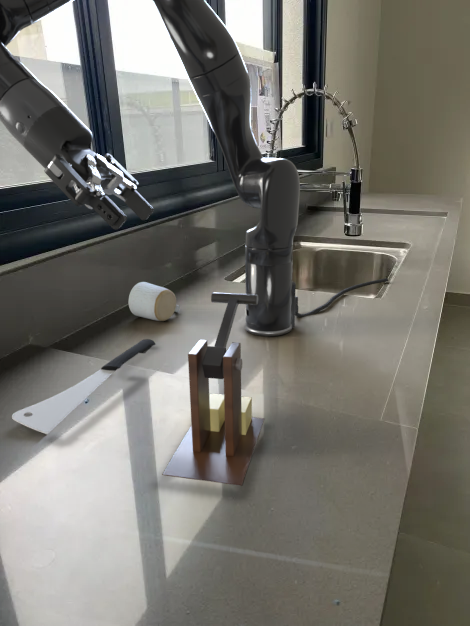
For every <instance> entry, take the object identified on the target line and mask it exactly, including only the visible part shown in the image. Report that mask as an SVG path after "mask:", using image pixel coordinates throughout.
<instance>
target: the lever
mask: <svg viewBox="0 0 470 626" xmlns="http://www.w3.org/2000/svg"><path fill="white" fill-rule="evenodd" d="M210 301H211V303H213V304H214V303H215V304H226V307H225V311H224V314H223V317H222V321H221V324H220V327H219V330H218V333H217V337H216V340H215V343H214V346H212V345H211V346H210V345H208V347H207V350H206V353H205V356H204V359H203V362H202V367H203V371H204V376H205V378H209V379H214V380H215V379H217V380H224V370H223V356H224V355H225V353H226V352H227V344H228V341H229V338H230V334H231V331H232V327H233V325H234V320H235V317H236V313H237V310H238V307H239V305H246V304H249V305H257V304H258V295H254V294H246V293H234V292H233V293H230V292H215V291H214V292H213V291H212V293H211V294H210Z"/></svg>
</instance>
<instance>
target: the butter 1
mask: <svg viewBox="0 0 470 626" xmlns="http://www.w3.org/2000/svg"><path fill="white" fill-rule="evenodd" d="M209 400H210V427H211V431H215V432H219V431H220V429H221V427H222V425H223V423H224V421H225V409H224V394H220V393H211V392H209Z"/></svg>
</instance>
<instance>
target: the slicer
mask: <svg viewBox="0 0 470 626" xmlns="http://www.w3.org/2000/svg"><path fill="white" fill-rule="evenodd" d="M241 345H242V344H241V342H237V341H232V342H231V344H230V346H229V347H228V348H227V349H226V351H227V352H226V353H225V355H224V356H223V370H224V378H223V395H224V409H225V421H224V423H223V425H222V427H221V429H220V431H219V432H215V431H211V427H210V400H209V393H210V378H205V376H204V371H203V367H202V362H203V359H204V356H205V353H206V350H207V347H208V346H209V344H208V340H207V339H199V340H198V341H197V342H196V344H194V345H193V347H192V348H191V349H190V350H189V352H188V353H187V364H188V382H189V383H188V385H189V402H190V403H189V404H190V405H189V406H190V417H191V418H190V420H191V425H190V426H189V428H188V430H187V431H186V434H185V435H184V436H183V438H182V440H181V442H180V443H179V445H178V446H177V448H176V450H175V452H174V453H173V455H172V457H171V458H170V460H169V461H168V464H167V465H166V467H165V469H164V470H163V472H162V473H161V475H162V476H167V477H174V478H175V477H176V478H182V479H189V480H197V481H198V480H199V481H204V482H212V483H218V484H226V485H233V486H243V483H244V481H245V478H246V474H247V472H248V470H249V466H250V463H251V461H252V457H253V454H254V452H255V448H256V446H257V444H258V439H259V437H260V434H261V430H262V427H263V425H264V421H265V418H264V417H263V418H262V417H256V416H252V420H251V422H250V425H249V427H248V430H247V433H246V435H242V411H241V396H242V368H243V358H242V351H241V350H242V349H241V348H242V346H241Z"/></svg>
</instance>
